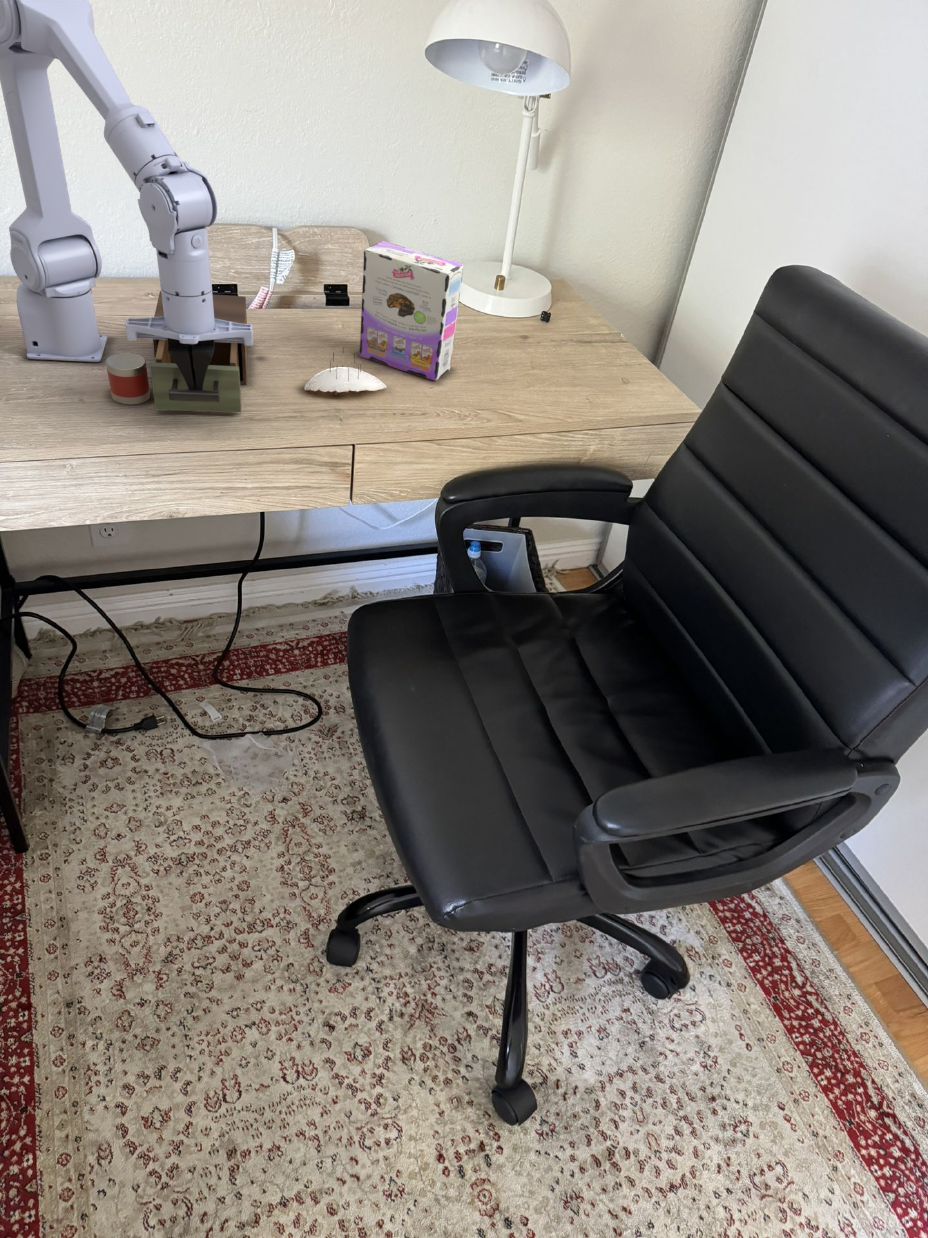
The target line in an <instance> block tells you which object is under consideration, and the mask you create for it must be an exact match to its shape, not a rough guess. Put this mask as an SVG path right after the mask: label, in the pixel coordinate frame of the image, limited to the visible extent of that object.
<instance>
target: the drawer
mask: <svg viewBox="0 0 928 1238" xmlns="http://www.w3.org/2000/svg"><path fill="white" fill-rule="evenodd" d="M192 347H193V344H192ZM154 361H155V362H154ZM154 361H153V362H152V361H151V362H150V366H149V370H150V378H151V385H152V392H153V393H152V394H153V400H154V407H155V410H162V411H163V410H165V411H189V412H191V411H193V412H220V413H221V412H223V413H242V396H241V385H240V375H239V372H240V367H239V348H238V343H227V342H215V345H214V353H213V356H212V359H211V361H210V363H209V366H208V368H207V371H206V374H205V378H204V383H203V390H189V389H188V386H187V384H186V381H185V379H184V377H183V375H182V373H181V371H180V370H179V368H178V366H177V365H176V363H175V362H174V360H173V359H172V358H171V356H170V354H169V352H168V340H160V339H159V343H158V348H157V353H156V357H155V356H154ZM194 369H195V368H194Z"/></svg>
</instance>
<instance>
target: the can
mask: <svg viewBox="0 0 928 1238" xmlns="http://www.w3.org/2000/svg"><path fill="white" fill-rule="evenodd" d="M105 364H106V372H107V378H108V382H109V388H110V394H111V398H112V400H113V401H115V402H117V403H119V404H123V405H139V404H143V403H145V402H147V401H148V400H149V399H150V398H151V391H150V382H149V375H148V369H147V363H146V359H145V357H143V356H142V355H140V354H138V353H133V352H119V353H115V354H112V355H110V356H108V357H107V358H106V359H105Z"/></svg>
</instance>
